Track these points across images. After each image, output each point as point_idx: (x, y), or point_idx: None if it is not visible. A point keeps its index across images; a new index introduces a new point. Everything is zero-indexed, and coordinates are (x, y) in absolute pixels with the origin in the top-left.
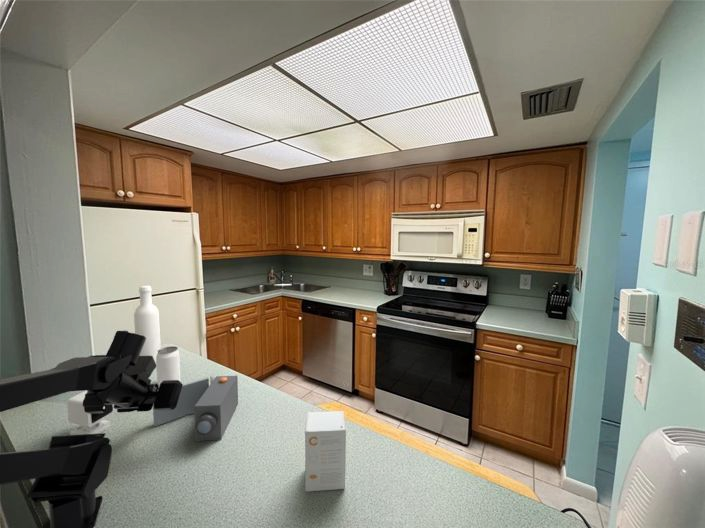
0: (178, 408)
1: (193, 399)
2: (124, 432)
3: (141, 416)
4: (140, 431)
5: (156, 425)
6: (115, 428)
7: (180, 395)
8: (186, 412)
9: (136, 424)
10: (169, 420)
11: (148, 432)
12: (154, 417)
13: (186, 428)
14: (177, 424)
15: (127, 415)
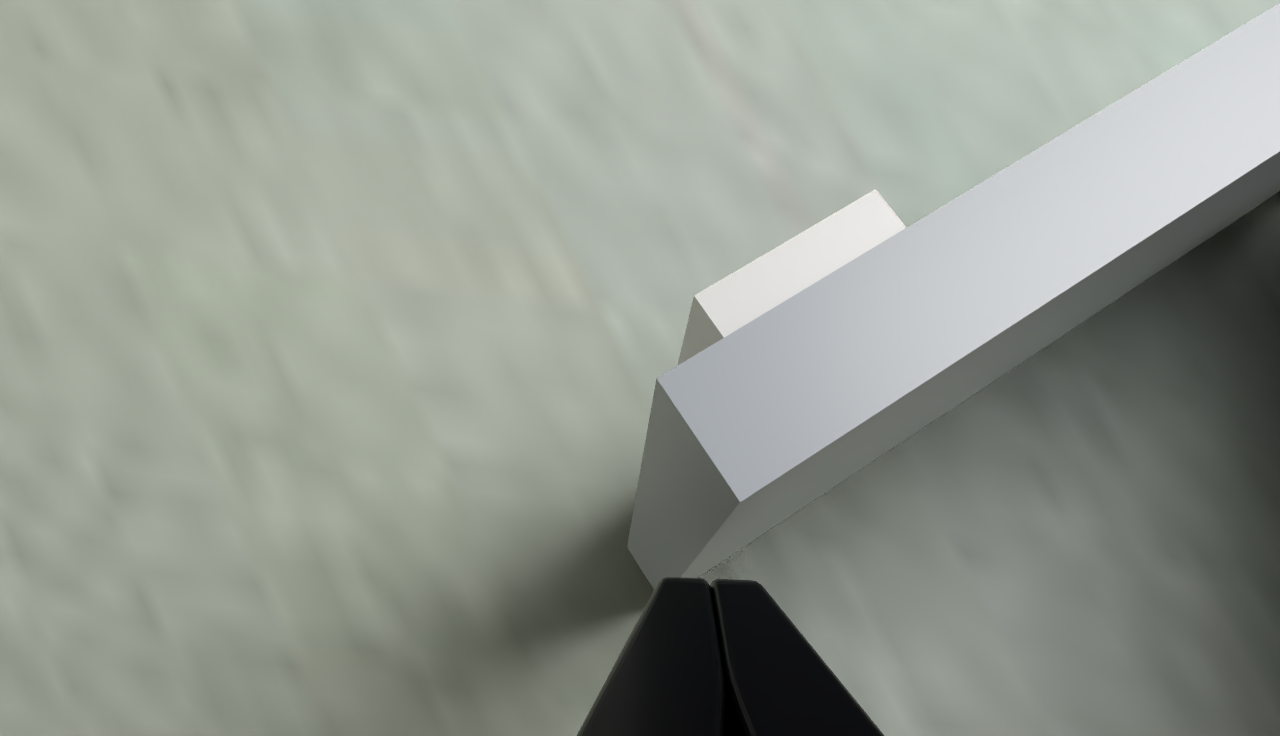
0: (1003, 366)
1: (1245, 204)
2: (240, 667)
3: (325, 290)
4: (484, 673)
5: None
6: (54, 542)
7: (1188, 232)
8: (1040, 349)
9: (338, 480)
10: (836, 485)
11: None
12: None
13: (1182, 688)
14: (981, 563)
15: (103, 239)
